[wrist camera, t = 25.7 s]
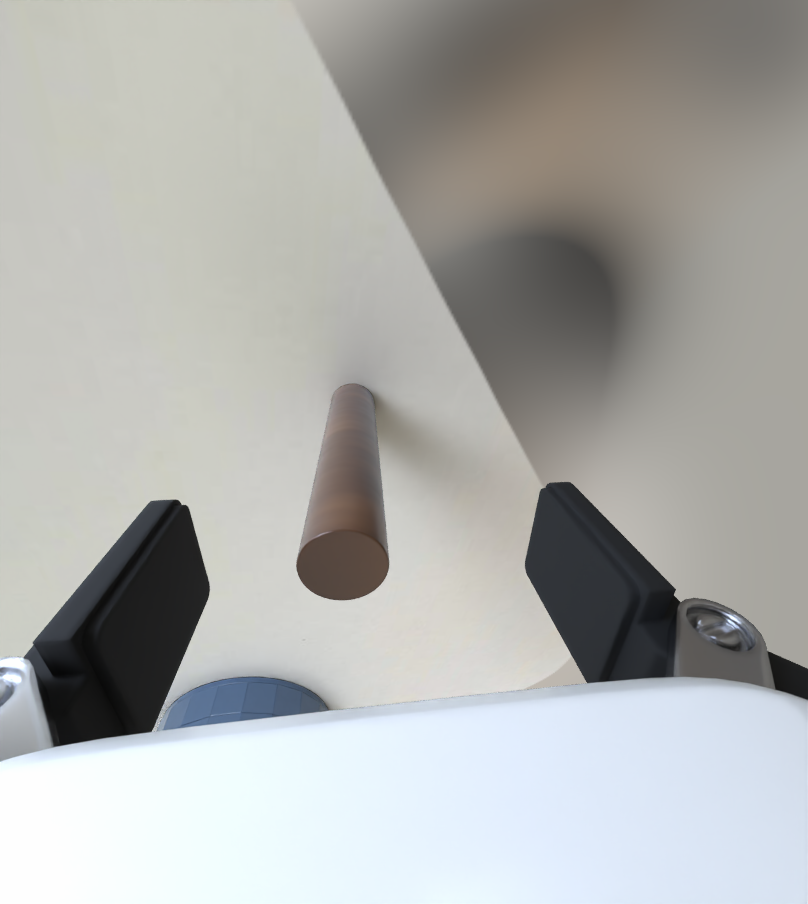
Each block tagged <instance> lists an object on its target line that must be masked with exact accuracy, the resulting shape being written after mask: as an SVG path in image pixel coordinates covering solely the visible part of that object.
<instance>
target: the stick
mask: <svg viewBox="0 0 808 904" xmlns="http://www.w3.org/2000/svg"><path fill="white" fill-rule="evenodd" d="M296 567H297V572H298V575H299V578H300V580H301V581H302V583H303V584H304V585H305V586H306V587H307V588H308V589H309V590H310V591H312V592H313V593H315V594H317V595H319V596H321V597H324V598H328V599H332V600H351V599H356V598H360V597H362V596H365V595H367V594H369V593H371V592H372V591H374V590H375V589H376V588H378V587H379V586H380V585H381V583H382V582H383V581H384V579H385V577H386V575H387V573H388V570H389V554H388V543H387V533H386V522H385V511H384V501H383V490H382V479H381V469H380V458H379V447H378V437H377V426H376V415H375V404H374V399H373V396H372V394H371V393H370V392H369V391H368V390H367V389H366V388H365V387H363V386H361V385H358V384H347V385H344V386H341V387H340V388H339V389H337V390H336V391H335V393H334V394H333V396H332V400H331V404H330V409H329V414H328V418H327V423H326V428H325V432H324V437H323V441H322V446H321V451H320V455H319V460H318V465H317V469H316V474H315V479H314V483H313V488H312V492H311V497H310V502H309V506H308V511H307V516H306V520H305V525H304V530H303V534H302V539H301V543H300V548H299V553H298V557H297V564H296Z"/></svg>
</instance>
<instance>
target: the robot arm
mask: <svg viewBox="0 0 808 904" xmlns="http://www.w3.org/2000/svg"><path fill="white" fill-rule="evenodd" d="M525 569H526V573H527V575H528V577H529V579H530V581H531V583H532V584H533V586H534V588H535V590H536V592H537V593H538V595H539V597H540V599H541V601H542V602H543V604H544V606H545V608H546V610H547V611H548V613H549V615H550V617H551V619H552V621H553V622H554V624H555V626H556V628H557V630H558V631H559V633H560V635H561V637H562V639H563V640H564V642H565V644H566V646H567V648H568V649H569V651H570V653H571V655H572V657H573V658H574V660H575V662H576V663H577V666H578V667H579V669H580V671H581V673H582V675H583V676H584V678H585V680H586V682H587V683H585V684H575V685H565V686H556V687H546V688H538V689H537V688H536V689H527V690H517V691H507V692H498V693H488V694H479V695H469V696H460V697H451V698H441V699H432V700H423V701H414V702H405V703H396V704H387V705H378V706H369V707H360V708H351V709H341V710H332V711H323V712H315V713H306V714H297V715H289V716H280V717H272V718H263V719H254V720H246V721H237V722H228V723H220V724H211V725H202V726H194V727H186V728H179V729H171V730H163V731H156V732H152V730H153V728H154V725H155V723H156V720H157V718H158V716H159V713H160V711H161V709H162V706H163V704H164V702H165V699H166V697H167V694H168V692H169V690H170V687H171V685H172V683H173V680H174V678H175V676H176V673H177V671H178V668H179V666H180V664H181V661H182V659H183V657H184V654H185V652H186V650H187V647H188V645H189V643H190V640H191V638H192V635H193V633H194V631H195V628H196V626H197V624H198V621H199V619H200V617H201V614H202V612H203V609H204V607H205V605H206V602H207V600H208V597H209V591H210V586H209V581H208V577H207V574H206V570H205V566H204V563H203V559H202V555H201V551H200V548H199V544H198V540H197V537H196V533H195V529H194V526H193V522H192V518H191V515H190V511H189V508H188V507H187V506H186V505H181V503H180V502H179V501H178V500H158V501H151V502H150V503H148V505H147V506H146V507H145V508H144V509H143V511H142V512H141V513H140V514H139V515H138V517H137V518H136V519H135V520H134V521H133V523H132V524H131V525H130V526H129V527H128V529H127V530H126V531H125V532H124V533H123V535H122V536H121V537H120V538H119V539H118V541H117V542H116V543H115V544H114V545H113V547H112V548H111V549H110V550H109V551H108V553H107V554H106V555H105V556H104V557H103V559H102V560H101V561H100V562H99V563H98V565H97V566H96V567H95V568H94V569H93V571H92V572H91V573H90V574H89V575H88V577H87V578H86V579H85V580H84V581H83V583H82V584H81V585H80V586H79V587H78V589H77V590H76V591H75V592H74V593H73V595H72V596H71V597H70V598H69V599H68V601H67V602H66V603H65V604H64V606H63V607H62V608H61V609H60V610H59V612H58V613H57V614H56V615H55V616H54V618H53V619H52V620H51V621H50V622H49V624H48V625H47V626H46V627H45V628H44V630H43V631H42V632H41V633H40V634H39V636H38V637H37V638H36V639H35V640H34V642H33V644H34V645H33V647H32V648H31V649H30V650H29V652H28V653H27V654H26V655H25V656H24V658H21V657H4V658H0V904H808V669H807V668H805V667H802V666H800V665H798V664H796V663H793V662H791V661H789V660H786V659H784V658H782V657H780V656H777V655H775V654H773V653H771V652H768V651H767V647H766V644H765V641H764V639H763V637H762V635H761V633H760V632H759V631H758V630H757V629H756V627H755V626H754V625H753V624H752V623H750V622H749V621H748V620H747V619H746V618H744V617H743V616H742V615H740V614H738V613H737V612H735V611H734V610H732V609H730V608H728V607H725V606H724V605H721V604H719V603H716V602H713V601H710V600H706V599H698V598H691V599H686V600H684V601H682V602H680V601H679V600H678V599H677V598H676V597H675V596H674V593H675V590H676V589H675V588H674V587H673V586H672V585H671V584H670V583H669V582H668V581H667V580H666V579H665V578H664V577H663V576H662V575H661V574H660V573H659V572H658V571H657V570H656V569H655V568H654V567H653V566H652V565H651V564H650V563H649V562H648V561H647V560H646V559H645V558H644V556H643V555H642V554H640V552H638V551H637V549H636V548H635V547H634V546H633V545H632V544H631V543H630V542H629V541H628V540H627V539H626V538H625V537H624V536H623V535H622V534H621V533H620V532H619V531H618V530H617V529H616V528H615V527H614V526H613V525H612V524H611V523H610V522H609V521H608V520H607V519H606V518H605V517H604V516H603V515H602V514H601V513H600V512H599V511H598V509H597V508H596V507H594V505H593V504H592V503H591V502H590V501H589V500H588V499H587V498H586V497H585V496H584V495H583V494H582V493H581V492H580V491H579V490H578V489H577V488H576V487H575V486H574V485H573V484H571V483H570V482H558V483H549V484H547V486H546V488H543V489H541V491H540V494H539V499H538V503H537V508H536V513H535V518H534V522H533V527H532V532H531V537H530V541H529V546H528V551H527V556H526V560H525Z"/></svg>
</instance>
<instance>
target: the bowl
mask: <svg viewBox="0 0 808 904" xmlns="http://www.w3.org/2000/svg"><path fill="white" fill-rule="evenodd" d="M323 711H329V710H328V708H327V706H326V705H325V703H324V702H323V701H322V700H321V699H320V698H319V697H318V696H317V695H316V694H314V693H313V692H311V691H310V690H308V689H306V688H304V687H302V686H299V685H297V684H294V683H291V682H287V681H284V680H278V679H273V678H263V677H242V678H232V679H225V680H220V681H216V682H212V683H209V684H206V685H203V686H200V687H198V688H196V689H193V690H191V691H189V692H188V693H186V694H184V695H183V696H181V697H180V698H179V699H177V700H176V701H175V702H174V703H173V704H172V705H171V706H170V707H169V708H168V710H167V711H166V713H165V714H164V717H163V719H162V720H161V722H160V724H159V726H158V729H157V731H163V730H171V729H179V728H186V727H194V726H202V725H211V724H220V723H228V722H237V721H246V720H254V719H263V718H272V717H280V716H289V715H297V714H306V713H315V712H323Z"/></svg>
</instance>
